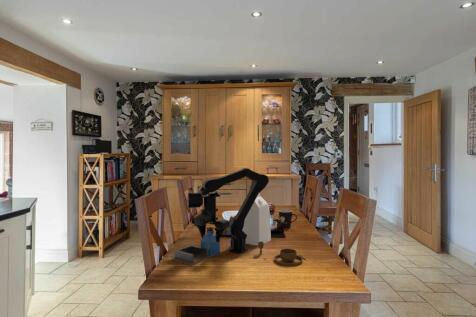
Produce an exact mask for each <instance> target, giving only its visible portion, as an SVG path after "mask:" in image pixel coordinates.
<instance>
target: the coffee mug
mask: <svg viewBox="0 0 476 317" xmlns="http://www.w3.org/2000/svg"><path fill="white" fill-rule="evenodd" d="M293 216H295V219H294V220H292V218H293ZM278 219H279V227H280V226H282V227H283V228H282V227H281V228H282V229H290V228H291V227H292V223H294V222H296V221H297V219H298V216H297V214H295V213H293V210H291V209H279V210H278Z"/></svg>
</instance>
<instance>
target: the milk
mask: <svg viewBox="0 0 476 317" xmlns="http://www.w3.org/2000/svg"><path fill="white" fill-rule="evenodd" d="M270 213H271V212H270V205H269V203H268V202H267V201H266V200H265V199H264V198H263V197H262V196H261V192H260V193H259V194H258V196H257V198H256V200H255V201H254V203H253V205H252V207H251V209H250V211H249V213H248V215H247V216H246V218H245V222H244V227H243V230H242V231H243V232H244V233H245V234H246V235H247V237H246V244H247V245H251V246H252V245H253V246H258V242H263V243H264V245H265V244H266V243H268V242H270V241H271V240H272V238H271V237H272V236H271V234H272V233H271V232H272V231H271V214H270Z"/></svg>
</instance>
